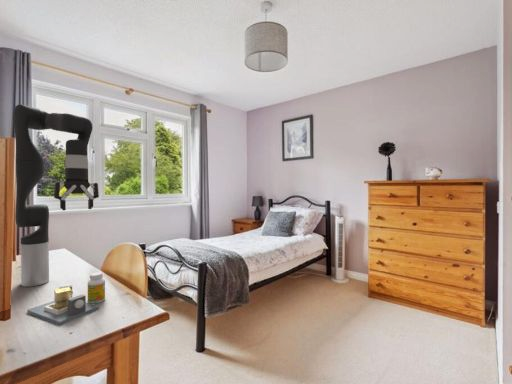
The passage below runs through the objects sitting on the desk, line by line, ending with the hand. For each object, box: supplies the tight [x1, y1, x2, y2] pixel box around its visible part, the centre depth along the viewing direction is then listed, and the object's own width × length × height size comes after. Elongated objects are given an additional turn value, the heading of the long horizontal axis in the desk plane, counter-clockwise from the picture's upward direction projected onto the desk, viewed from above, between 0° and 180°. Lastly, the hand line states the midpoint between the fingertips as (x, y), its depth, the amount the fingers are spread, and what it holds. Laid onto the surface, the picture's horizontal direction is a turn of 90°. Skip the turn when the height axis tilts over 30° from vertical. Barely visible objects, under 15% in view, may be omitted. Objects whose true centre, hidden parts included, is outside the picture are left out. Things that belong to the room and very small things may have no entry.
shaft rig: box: [26, 285, 99, 326], centre depth 90 cm, size 18×12×6 cm, turn 64°
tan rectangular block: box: [53, 287, 73, 310], centre depth 90 cm, size 4×4×6 cm
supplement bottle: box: [87, 271, 106, 304], centre depth 99 cm, size 5×5×10 cm
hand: (77, 209), depth 106 cm, fingers open, 8 cm apart
